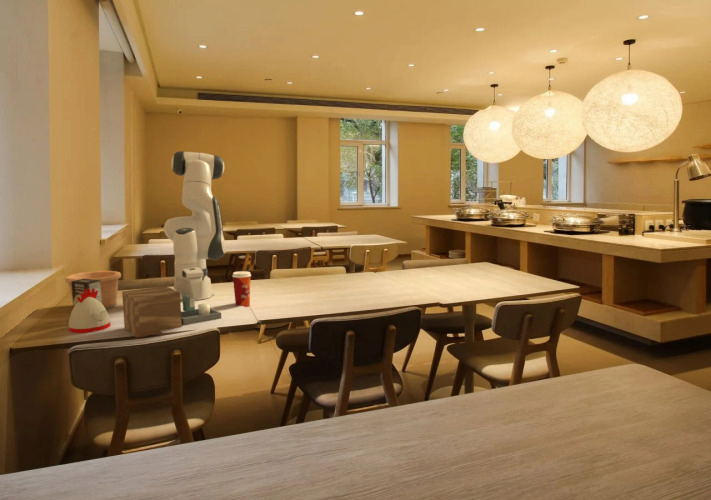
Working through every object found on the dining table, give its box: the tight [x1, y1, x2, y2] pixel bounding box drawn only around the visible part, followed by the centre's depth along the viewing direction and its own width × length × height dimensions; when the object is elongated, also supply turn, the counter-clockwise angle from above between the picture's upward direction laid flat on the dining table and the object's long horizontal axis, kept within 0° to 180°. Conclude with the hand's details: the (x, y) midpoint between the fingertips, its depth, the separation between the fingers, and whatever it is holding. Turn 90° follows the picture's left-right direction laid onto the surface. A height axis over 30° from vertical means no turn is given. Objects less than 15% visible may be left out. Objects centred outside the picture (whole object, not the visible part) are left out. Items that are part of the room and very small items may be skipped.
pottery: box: [64, 270, 122, 310], centre depth 219 cm, size 22×22×14 cm
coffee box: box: [71, 279, 102, 308], centre depth 197 cm, size 9×6×16 cm
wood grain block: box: [121, 285, 183, 339], centre depth 184 cm, size 16×16×14 cm
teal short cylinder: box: [181, 296, 196, 311], centre depth 192 cm, size 4×4×5 cm
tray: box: [181, 307, 222, 326], centre depth 195 cm, size 12×15×3 cm
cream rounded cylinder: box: [197, 303, 211, 316], centre depth 197 cm, size 4×4×5 cm
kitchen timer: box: [68, 288, 111, 334], centre depth 186 cm, size 14×14×15 cm
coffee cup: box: [231, 270, 252, 308], centre depth 219 cm, size 8×8×15 cm
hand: (188, 305), depth 192 cm, fingers closed on teal short cylinder, 4 cm apart
